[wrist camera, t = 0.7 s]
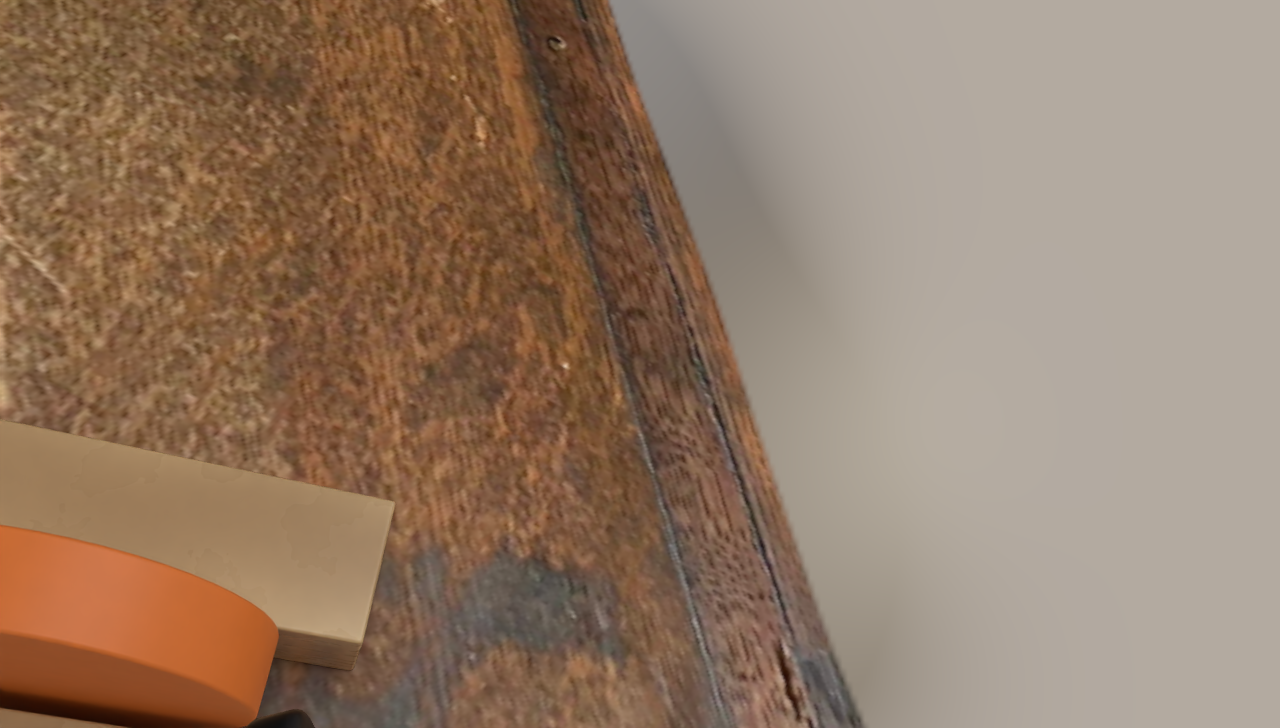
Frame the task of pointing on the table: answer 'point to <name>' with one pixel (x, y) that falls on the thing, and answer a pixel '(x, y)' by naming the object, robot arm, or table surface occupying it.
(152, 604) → the disc
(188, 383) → the table surface
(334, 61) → the table surface
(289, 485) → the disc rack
